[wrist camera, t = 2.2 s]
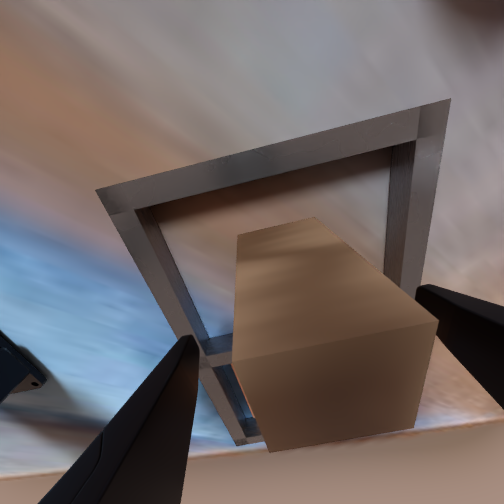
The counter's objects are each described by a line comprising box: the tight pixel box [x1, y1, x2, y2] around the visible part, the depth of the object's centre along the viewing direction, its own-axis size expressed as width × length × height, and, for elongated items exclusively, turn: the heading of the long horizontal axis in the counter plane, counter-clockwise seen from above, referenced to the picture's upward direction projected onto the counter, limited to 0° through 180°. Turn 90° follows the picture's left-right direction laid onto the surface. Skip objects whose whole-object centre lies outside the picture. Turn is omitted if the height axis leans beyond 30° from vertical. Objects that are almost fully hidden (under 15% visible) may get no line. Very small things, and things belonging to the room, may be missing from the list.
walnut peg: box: [232, 217, 439, 453], centre depth 9 cm, size 4×4×8 cm
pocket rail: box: [95, 98, 451, 446], centre depth 14 cm, size 15×24×2 cm, turn 13°
